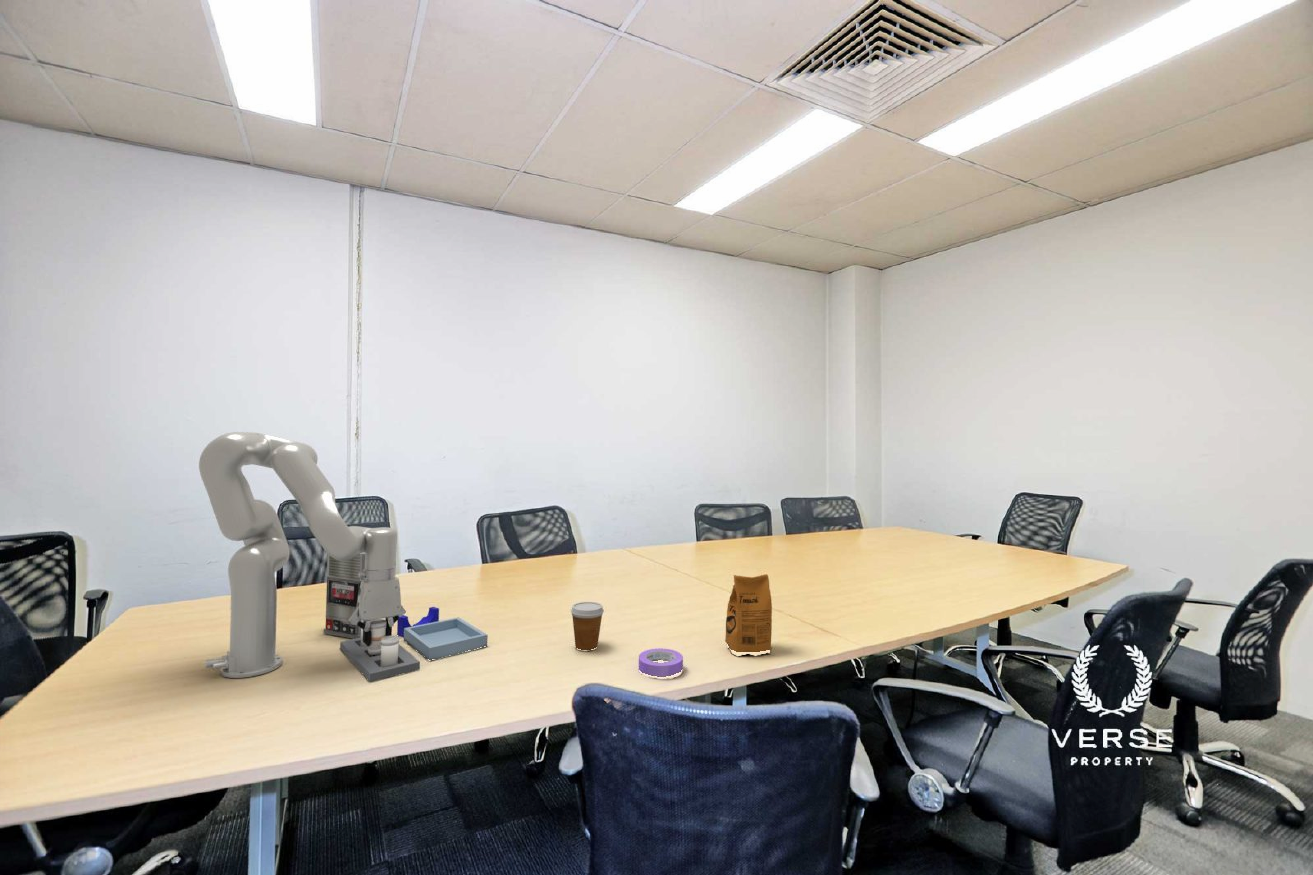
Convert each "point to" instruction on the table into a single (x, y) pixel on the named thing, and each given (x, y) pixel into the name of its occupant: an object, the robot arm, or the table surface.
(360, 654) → the fuse holder
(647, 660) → the masking tape
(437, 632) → the tray
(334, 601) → the cassette tape recorder
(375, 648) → the marked fuse
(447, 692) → the table surface
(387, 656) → the cylinder
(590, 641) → the disposable coffee cup
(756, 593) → the coffee package
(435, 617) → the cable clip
